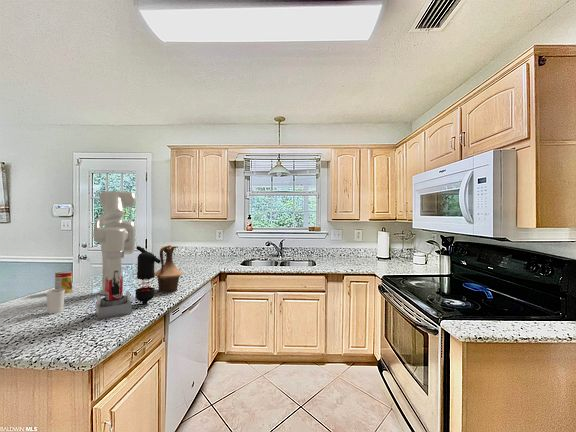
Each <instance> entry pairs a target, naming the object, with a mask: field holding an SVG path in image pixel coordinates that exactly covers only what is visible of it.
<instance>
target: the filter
mask: <svg viewBox="0 0 576 432" xmlns="http://www.w3.org/2000/svg"><path fill="white" fill-rule="evenodd" d="M135 250H137V251H139V252H140V253H139V254H138V255H137V272H136V279H137V280H142V281H143V282H141V285H142V286H141V287H139V288H136V289H135V297H136V300H137V301H139V302H141V304H142V305H147V304H148V302H149V301H151V300H152V299H153V298H154V296H155V287H151V286H150V285H149V284H150V281H149V280H150V279H154V278H155V277H156V276H155V263H157V264H161V259H160V258H158V257H157V255H155V254H154V253H152V252H151V251H150V252H149V251H148V250H146V249H145V247H141V246H140V245H138V246H136V247H135ZM144 280H147V281H146V282H144ZM144 284H145V285H144Z"/></svg>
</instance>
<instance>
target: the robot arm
mask: <svg viewBox="0 0 576 432" xmlns="http://www.w3.org/2000/svg"><path fill="white" fill-rule="evenodd" d="M99 203H100V205H101V208H102V210H103V213H101V214H100V215H99V216H98V217H97V218H96V219H95V222H94V224H93V235H92V236H93V237H92V238H93V241H94V242H95V243H98V244H101V245H100V250H101V256H102V259H101V260H102V268H101V269H102V272H101V273H102V275H101V276H102V277H101V278H102V279H101V281H102V282H101V290H99V291H98V294H99V295H100V296H102V295H103V296H105V278H106V277H108V280H109V281H110V280H112V286H111V295H118V294H119V287H120V286H119V280H120V279H121V275H122V259H124V257H125V256H124V255H132V254H133V253H134V252H135V251H136V224H135V222H134V221H133V220H122V218H123V217H124V215H125V214H124V213H125V212H124V208H125V207H126V208H134V207H135V206H136V203H137V198H136V194H135V193H134V192H133V191H123V190H122V191H119V190H118V191H117V190H106V191H105V190H104V191H101V192H100V193H99ZM103 226H104V227H103ZM119 277H120V278H119ZM113 278H115V279H113ZM123 292H125V289H124V288H123V290H122V293H123Z"/></svg>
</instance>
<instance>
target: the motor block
mask: <svg viewBox="0 0 576 432" xmlns="http://www.w3.org/2000/svg"><path fill="white" fill-rule="evenodd" d="M101 296H102V295H101V294H99V295H96V301H95V308H94V309H95V310H94V311H95V315H96V318H97V319H98V320H103V319H109V318H113V317H119V316H120V317H121V316H125V315H130V314H132V311H133V309H132V307H133V305H132V301H131V300H130V299H131V291H129V290H128V291H126V292H125V294H124V295H123V294H122V298H120V299H119V300H114V301H107V300H106V299H105V296H104V297H101Z"/></svg>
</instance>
